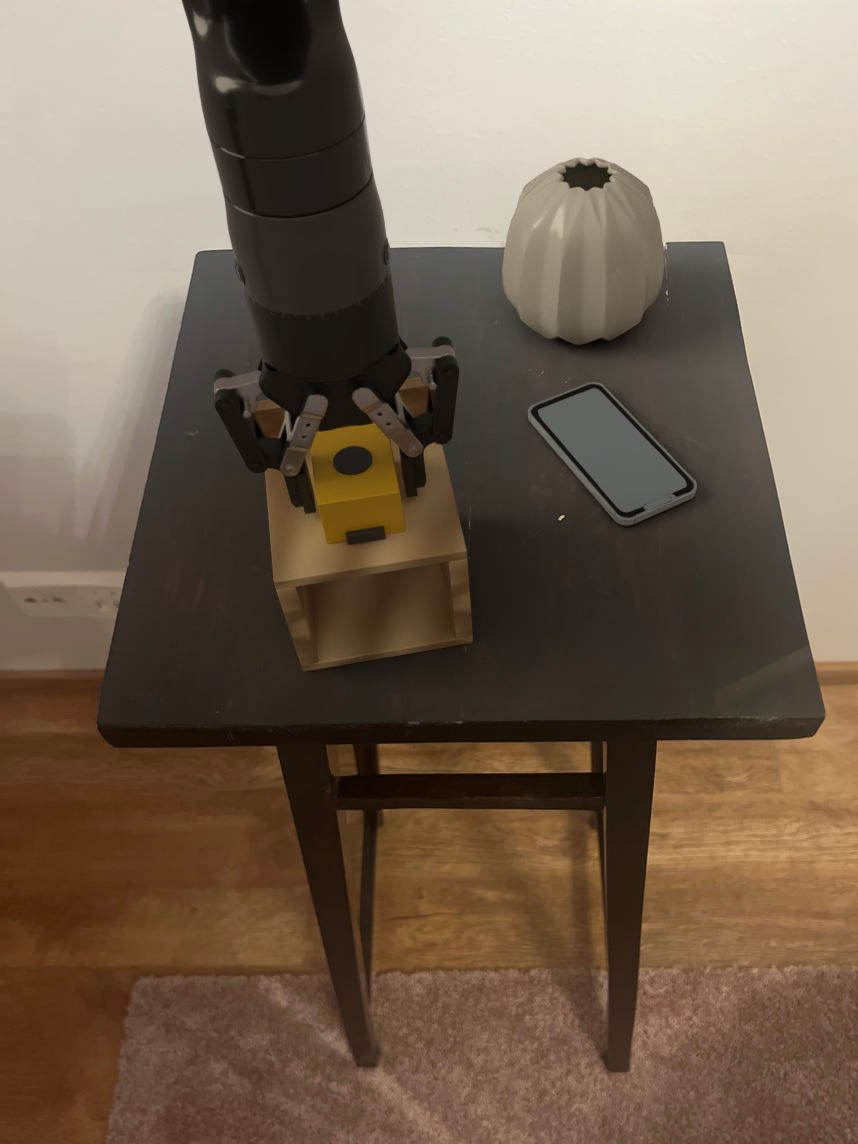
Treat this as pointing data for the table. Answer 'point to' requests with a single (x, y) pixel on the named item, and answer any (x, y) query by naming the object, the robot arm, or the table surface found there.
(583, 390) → the smartphone
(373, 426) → the measuring tape
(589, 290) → the vase
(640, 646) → the table surface
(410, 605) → the shelf
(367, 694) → the table surface
